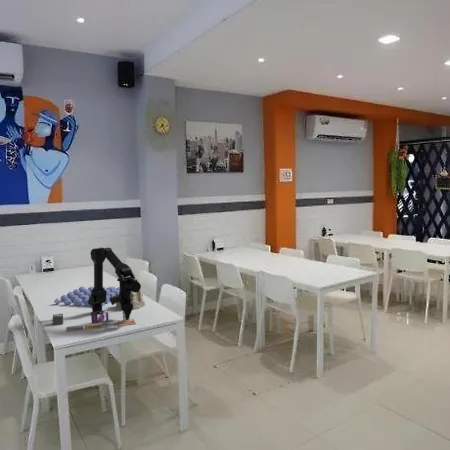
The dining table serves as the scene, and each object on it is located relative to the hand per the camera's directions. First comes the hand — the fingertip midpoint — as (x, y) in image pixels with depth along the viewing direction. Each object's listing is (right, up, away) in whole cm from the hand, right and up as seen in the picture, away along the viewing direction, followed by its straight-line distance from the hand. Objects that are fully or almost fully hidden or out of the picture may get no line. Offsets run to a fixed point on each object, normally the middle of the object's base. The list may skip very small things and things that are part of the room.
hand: (126, 317), depth 234 cm
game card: (-15, -4, +2) cm, 16 cm away
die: (-38, -4, +1) cm, 38 cm away
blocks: (-36, 0, +51) cm, 63 cm away
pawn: (0, -3, 0) cm, 3 cm away
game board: (-13, -4, -4) cm, 14 cm away
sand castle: (-4, 0, +31) cm, 32 cm away
